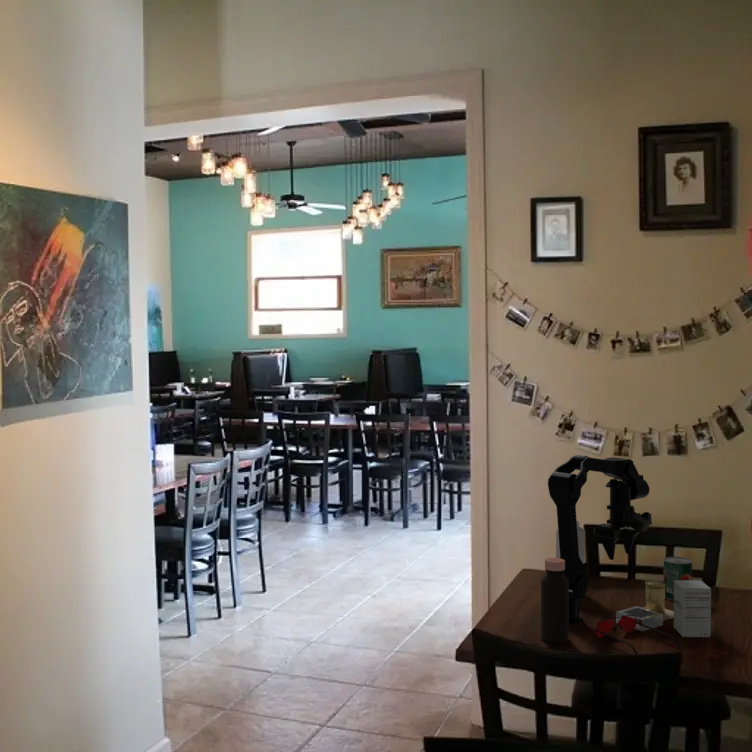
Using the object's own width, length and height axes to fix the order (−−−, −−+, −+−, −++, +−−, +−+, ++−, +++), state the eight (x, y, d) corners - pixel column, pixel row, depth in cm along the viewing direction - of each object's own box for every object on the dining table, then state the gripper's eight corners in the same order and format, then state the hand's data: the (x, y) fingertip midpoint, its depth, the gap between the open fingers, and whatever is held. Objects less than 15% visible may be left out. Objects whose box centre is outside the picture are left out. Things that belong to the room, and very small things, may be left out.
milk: (568, 589, 270) (568, 516, 269) (585, 594, 265) (585, 519, 264) (555, 593, 266) (555, 519, 265) (572, 597, 261) (572, 522, 260)
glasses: (634, 630, 234) (634, 611, 233) (682, 650, 219) (683, 630, 219) (592, 639, 227) (592, 619, 227) (639, 660, 213) (639, 639, 212)
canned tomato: (662, 592, 266) (663, 555, 266) (690, 594, 264) (691, 557, 264) (663, 600, 259) (664, 562, 258) (692, 602, 256) (693, 564, 256)
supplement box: (672, 627, 234) (673, 579, 234) (701, 628, 234) (702, 579, 234) (681, 637, 227) (682, 587, 226) (711, 637, 227) (711, 587, 226)
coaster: (658, 622, 239) (658, 620, 239) (628, 612, 247) (628, 611, 247) (682, 615, 245) (682, 613, 245) (651, 606, 253) (651, 604, 253)
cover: (657, 616, 242) (657, 587, 242) (640, 611, 247) (640, 582, 246) (669, 613, 245) (670, 584, 245) (653, 608, 250) (653, 579, 249)
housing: (642, 631, 232) (642, 619, 232) (615, 622, 238) (616, 611, 238) (662, 625, 237) (662, 613, 236) (636, 617, 243) (636, 606, 243)
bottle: (568, 644, 222) (569, 564, 221) (540, 642, 224) (541, 563, 223) (567, 635, 229) (568, 557, 228) (540, 633, 230) (541, 556, 229)
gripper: (629, 510, 244) (629, 568, 244) (662, 501, 257) (661, 555, 258) (593, 505, 251) (592, 560, 252) (626, 496, 265) (626, 549, 265)
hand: (619, 556), depth 257 cm, fingers open, 9 cm apart
